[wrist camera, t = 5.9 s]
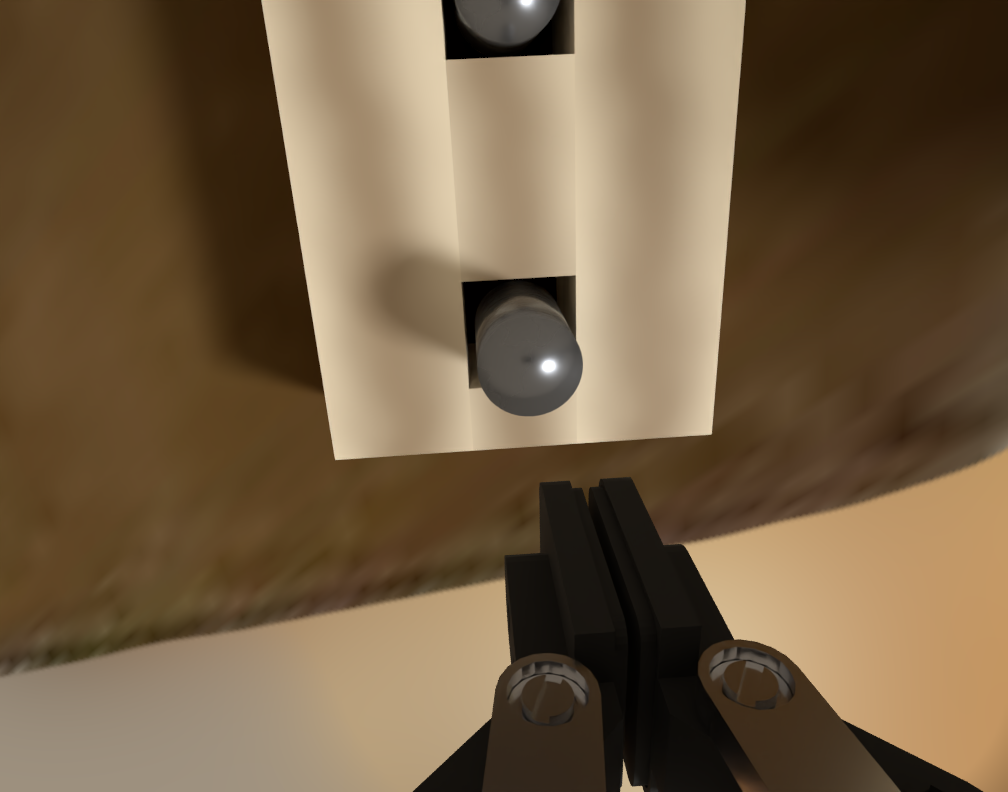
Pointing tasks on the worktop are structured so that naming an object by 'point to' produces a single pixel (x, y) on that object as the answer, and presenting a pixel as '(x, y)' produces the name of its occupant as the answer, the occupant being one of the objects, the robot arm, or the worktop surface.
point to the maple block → (510, 211)
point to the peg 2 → (525, 350)
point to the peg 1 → (502, 23)
